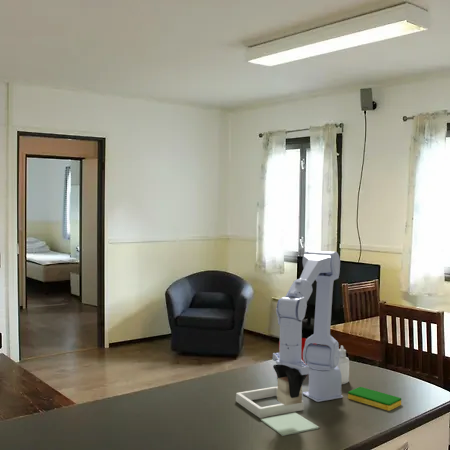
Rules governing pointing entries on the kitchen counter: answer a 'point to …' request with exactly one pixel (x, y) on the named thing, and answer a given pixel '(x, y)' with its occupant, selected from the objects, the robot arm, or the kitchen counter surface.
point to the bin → (266, 411)
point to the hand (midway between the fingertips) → (289, 394)
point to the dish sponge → (374, 398)
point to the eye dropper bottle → (343, 365)
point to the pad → (289, 424)
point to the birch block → (286, 393)
